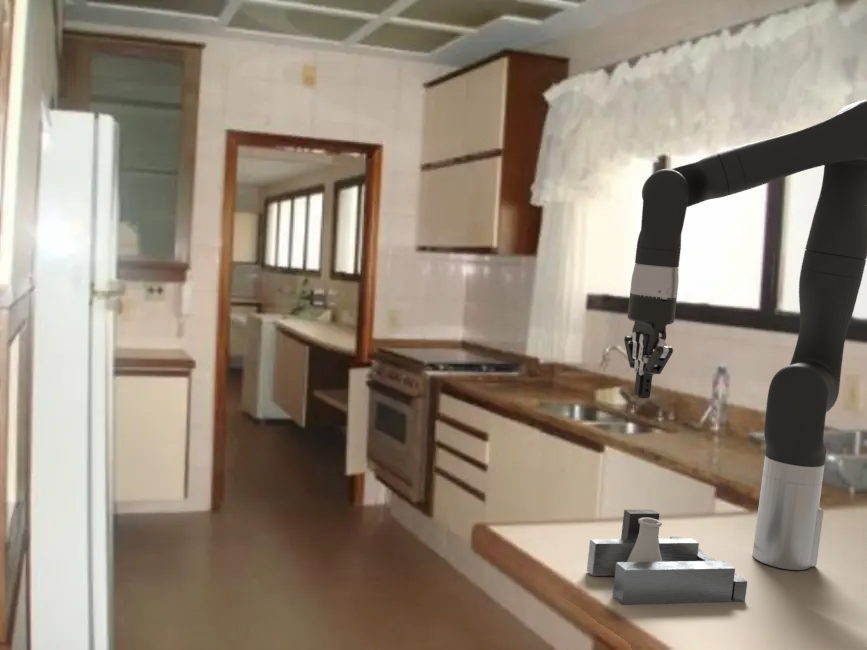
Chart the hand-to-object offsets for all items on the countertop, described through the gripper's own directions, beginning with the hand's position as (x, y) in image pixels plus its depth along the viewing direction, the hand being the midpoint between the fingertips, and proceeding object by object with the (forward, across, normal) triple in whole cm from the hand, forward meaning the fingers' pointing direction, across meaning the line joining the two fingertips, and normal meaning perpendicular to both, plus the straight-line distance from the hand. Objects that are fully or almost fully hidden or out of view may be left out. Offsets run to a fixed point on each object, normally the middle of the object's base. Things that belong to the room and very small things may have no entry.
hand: (641, 397), depth 158 cm
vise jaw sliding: (+25, +14, -4) cm, 29 cm away
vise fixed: (+25, +15, -3) cm, 29 cm away
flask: (+25, +18, -6) cm, 32 cm away
